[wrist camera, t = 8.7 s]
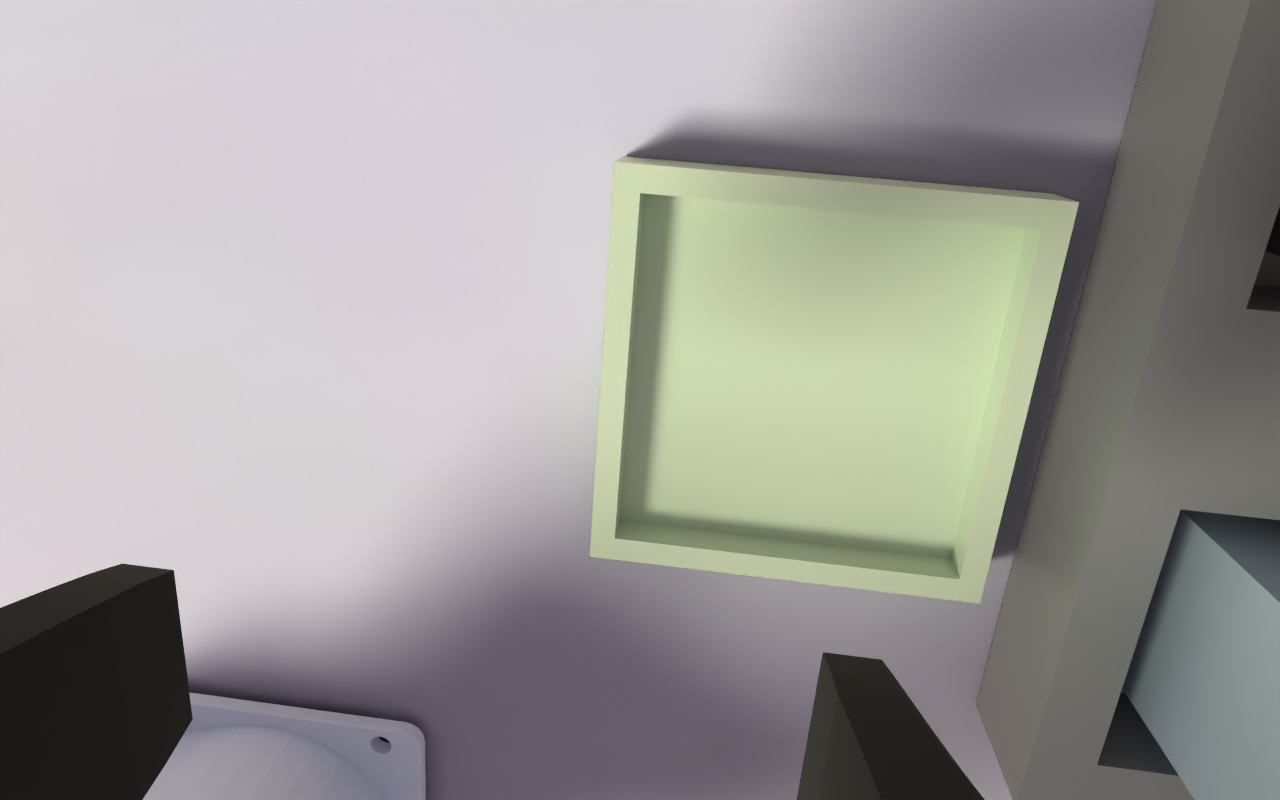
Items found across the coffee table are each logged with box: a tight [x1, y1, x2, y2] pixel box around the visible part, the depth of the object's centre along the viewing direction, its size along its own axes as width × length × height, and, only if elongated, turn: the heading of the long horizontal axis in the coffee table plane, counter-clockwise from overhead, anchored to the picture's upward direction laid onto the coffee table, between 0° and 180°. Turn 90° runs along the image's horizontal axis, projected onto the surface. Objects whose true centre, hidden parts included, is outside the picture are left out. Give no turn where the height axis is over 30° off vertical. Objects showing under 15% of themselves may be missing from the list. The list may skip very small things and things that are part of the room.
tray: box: [589, 156, 1079, 604], centre depth 17 cm, size 8×8×1 cm
